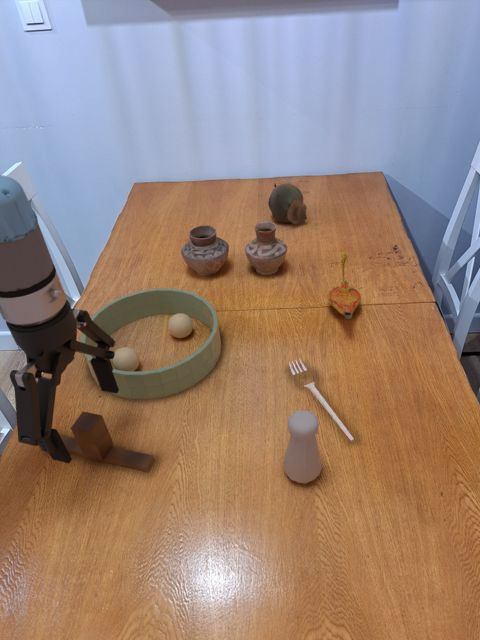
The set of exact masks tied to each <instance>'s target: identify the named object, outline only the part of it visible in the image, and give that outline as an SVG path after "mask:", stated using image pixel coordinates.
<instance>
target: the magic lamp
mask: <svg viewBox="0 0 480 640" xmlns="http://www.w3.org/2000/svg"><path fill="white" fill-rule="evenodd" d="M341 258H342V259H341V260H340V262H341V263H340V266H341V268H340V269H341V278H342V281H341V282H340V284H341V285H339V286H337V287H333V288H332V289H331V290H330V291H329V292H328V295H327V301H328V303H329V304H330V306H332V307H333V309H335V310H336V311H337V312H338V314H341V315H342V316H343V317H344V318H345V319H352V318H353V314H354V312H355V311H356V309H357V307H358V306H359V305H360V303H361V301H362V295H361V293H360V292H359V290H357V289H356V288H354V287H351V286H350V285H349V284H350V282H348V280H346V279H345V265H346V261H347V260H348V258H349V254H348V253H347V252H346V251H343V252H342V254H341Z"/></svg>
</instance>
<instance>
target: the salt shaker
mask: <svg viewBox="0 0 480 640" xmlns="http://www.w3.org/2000/svg"><path fill="white" fill-rule="evenodd" d="M286 424H287V429H288V432H289V440H288V443H287V447H286V452H285V455H284V457H283V462H282V466H283V469H284V473H285V474H286V475H287V477H288V478H289V479H290V480H291V481H293V482H296V483H298V484H304V485H307V484H308V483H310V482H313V481H314V480H315V479H317V478H318V476H320V474H321V471H322V468H323V462H322V458H321V455H320V451H319V446H318V441H317V436H316V435H317V434H318V431H319V428H320V423H319V419H318V416H317V415H316V414H315V413H314V412H313V411H310V410H309V409H299V410H296V411H293V412H292V413H291V414H289V417H288V420H287V423H286Z"/></svg>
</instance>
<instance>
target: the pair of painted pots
mask: <svg viewBox="0 0 480 640" xmlns="http://www.w3.org/2000/svg"><path fill="white" fill-rule="evenodd" d="M253 228H254V229H253V230H254V232H255V236H256V238H253V239H252V240H250V241H249V242H248V243H247V244H246V245H245V247H244V252H245V256H246V259H247V260H248V262H249V263H250V265H251V266H252V267H253V268H254V269H255V272H256V273H257V274H259V275H263V276H270V275H273V274H275V273H277V272H278V271H279V267H280V266H281V265H282V264H283V263H284V261H285V258H286V255H287V253H288V244H287V243H286V242H284V240H281V239H280V238H278V237H276V231H277V224H276V223H275V222H273V221H269V220H266V221H265V220H264V221H260V222H257V223H256V224H255V225H254V226H253ZM188 236H189V240H188V241H187V242H186V243H185V244H183V246H182V248H181V250H180V253H181V256H182V259H183V261H184V263H185V264H186V265H187V266H188V267H189V268H190V269H192V270H193V271H195V273H196V274H197V275H200V276H211V275H212V276H213V275H214V274H216V273H218V272H219V271H220V269H221V268H222V267H223V266H224V265H225V263H226V261H227V259H228V256H229V251H230V245H229V243H228V242H227V241H226V240H224V239H223V238H221V237H218V236H217V229H216V228H215V227H214V226H213V225H212V226H211V225H205V224H204V225H198V226H194V227H192V228H191V229H190V230H189V233H188Z"/></svg>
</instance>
